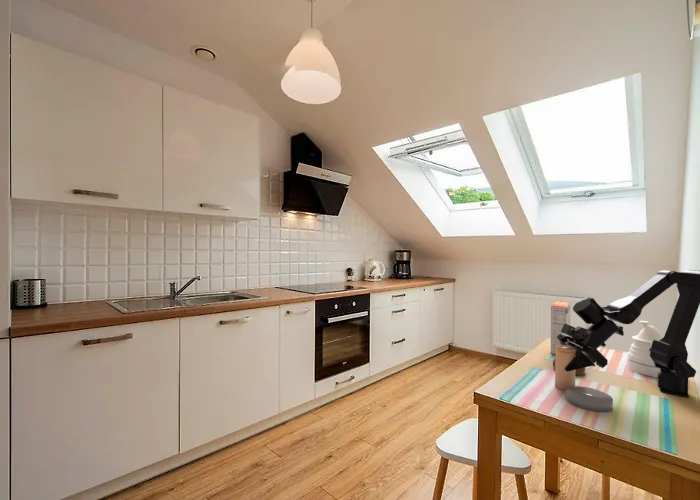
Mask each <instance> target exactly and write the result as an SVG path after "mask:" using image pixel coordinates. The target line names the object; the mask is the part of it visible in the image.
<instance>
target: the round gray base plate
mask: <svg viewBox="0 0 700 500" xmlns="http://www.w3.org/2000/svg"><path fill="white" fill-rule="evenodd" d="M566 400H567V401H568V402H569V403H570V404H572V405H573V406H576V407H578V408H581V409H583V410H587V411H591V412H598V413H608V412H611V411H613V407H614V405H613V404H614V399H613V397H612V396H611V395H610V394H608V393H606V392H604V391H601V390H599V389H595V388H592V387H586V386H579V385H578V386H577V385H575V386H573V387H569V388H567V391H566Z"/></svg>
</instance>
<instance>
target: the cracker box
mask: <svg viewBox="0 0 700 500" xmlns="http://www.w3.org/2000/svg"><path fill="white" fill-rule="evenodd" d="M565 323H566V324H568V325H570V326H571V302H570V301H569V302H567V301H561V300H560V301H558V300H556V301H555V302H554V303H552V304H551V305H550V354H551V355H556V349H555V345H561V343H560V341H559V340H558V339H557V336H558V335H559V334H565V333H562V332H561V329H562V328H563V326H564V324H565ZM566 335H567V334H566ZM568 336H569V335H568Z"/></svg>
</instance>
